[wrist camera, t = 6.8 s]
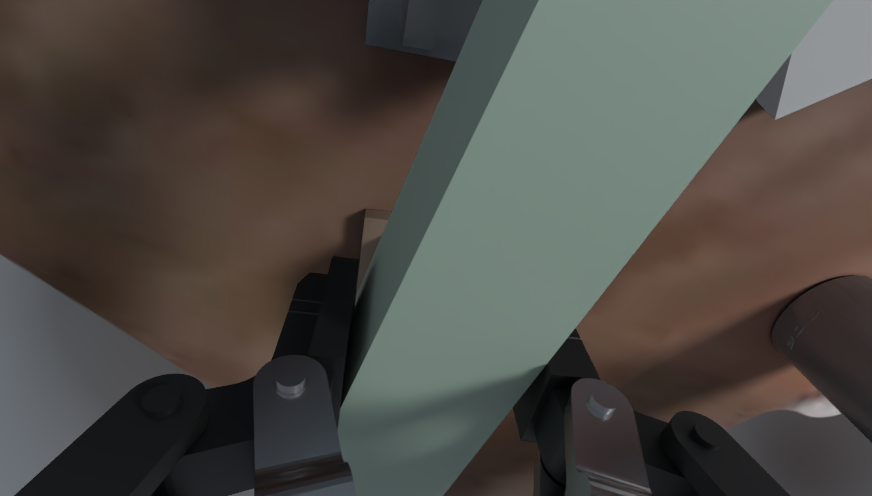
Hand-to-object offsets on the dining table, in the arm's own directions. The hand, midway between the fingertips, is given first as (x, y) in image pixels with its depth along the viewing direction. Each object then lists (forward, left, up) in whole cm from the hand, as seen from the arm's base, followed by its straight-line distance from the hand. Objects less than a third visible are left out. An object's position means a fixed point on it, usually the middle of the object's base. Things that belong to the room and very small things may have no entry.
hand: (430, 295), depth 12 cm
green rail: (0, 0, -1) cm, 1 cm away
